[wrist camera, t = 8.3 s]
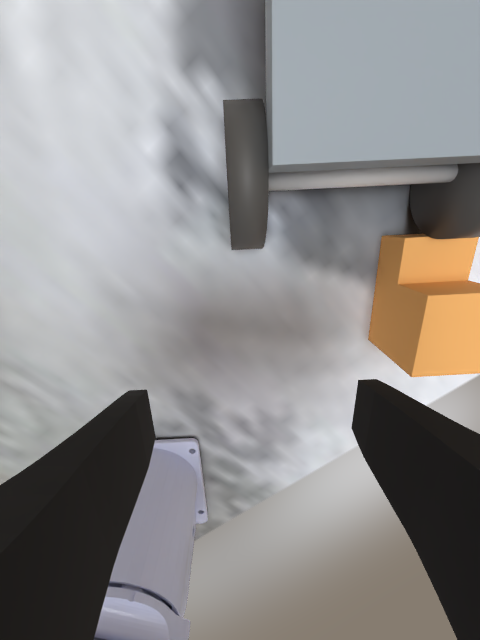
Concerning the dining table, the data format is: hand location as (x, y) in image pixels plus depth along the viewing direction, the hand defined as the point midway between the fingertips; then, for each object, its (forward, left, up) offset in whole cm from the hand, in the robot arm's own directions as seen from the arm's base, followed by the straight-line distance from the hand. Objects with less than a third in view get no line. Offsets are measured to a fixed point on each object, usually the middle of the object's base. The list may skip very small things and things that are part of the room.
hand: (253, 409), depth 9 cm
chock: (+1, -11, -10) cm, 14 cm away
